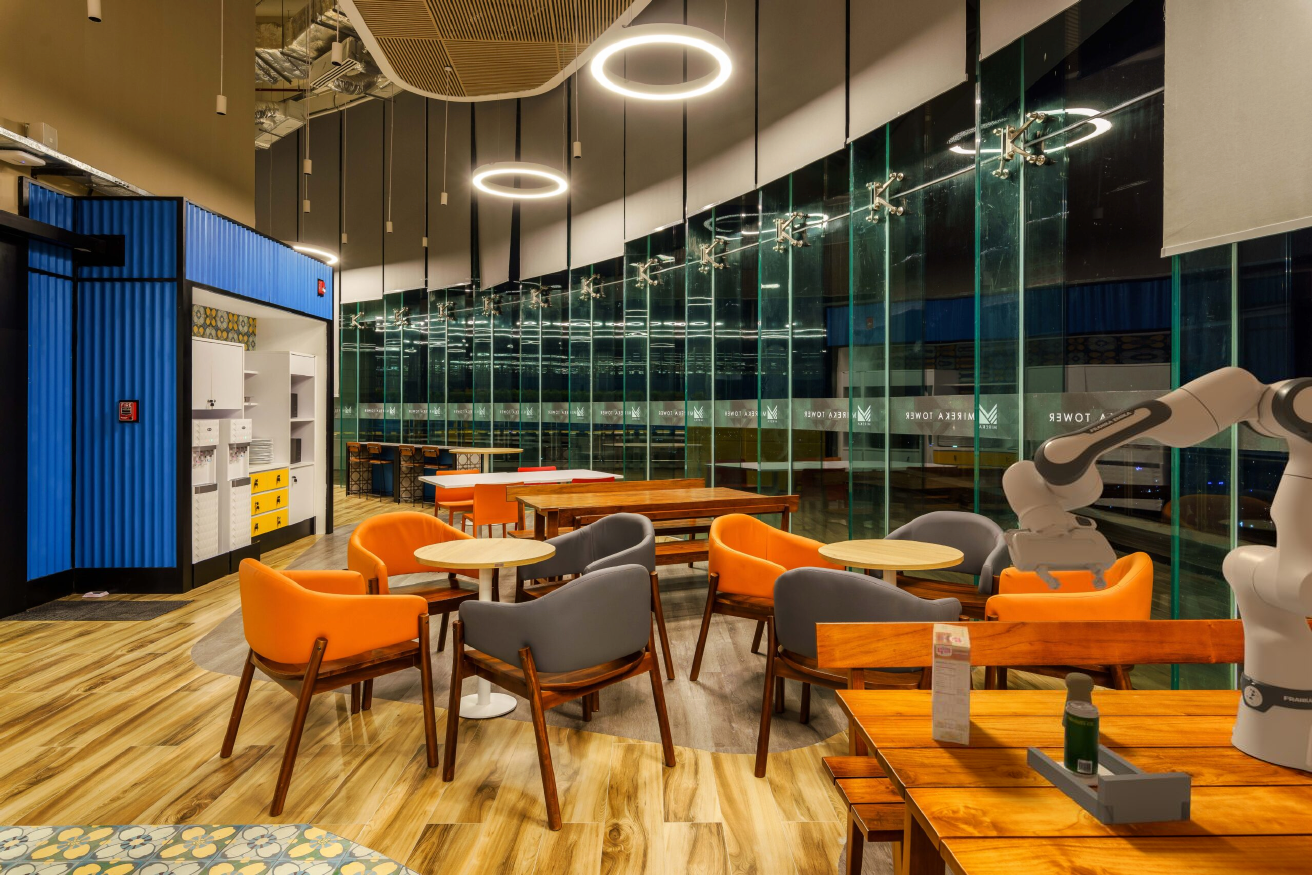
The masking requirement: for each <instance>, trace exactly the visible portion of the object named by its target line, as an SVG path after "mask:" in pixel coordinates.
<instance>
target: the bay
mask: <svg viewBox="0 0 1312 875" xmlns="http://www.w3.org/2000/svg"><path fill="white" fill-rule="evenodd" d="M1026 764H1027V765H1028V766H1030V767H1031V768H1032V769H1033V770H1034V771H1036V772H1037V773H1038V774H1040V775H1041V776H1042V777H1043V778H1044V779H1046V780H1047V781H1048V782H1050V783H1051V784H1052V785H1054V787H1056V788H1057V789H1058V790H1060V791H1061V792H1062V793H1064V794H1065V795H1066V796H1067V795H1068V796H1067V797H1069V796H1070V797H1071V798H1072V799H1073V800H1072V799H1071V798H1070V797H1069V798H1070V799H1071V800H1072V801H1074V802H1075V803H1076V802H1077V803H1076V804H1078V805H1079V806H1080V807H1082V809H1083V810H1085V811H1087V812H1088V813H1089V814H1090V815H1091V816H1092V817H1094V818H1095V819H1097V820H1098V821H1099V822H1100V823H1102V824H1103V825H1116V824H1135V823H1139V824H1140V823H1154V822H1155V823H1157V822H1174V821H1175V822H1176V821H1190V820H1191V805H1192V803H1191V801H1192V799H1191V798H1192V776H1191V775H1190V774H1187V772H1184V771H1173V772H1155V773H1154V772H1151V773H1149V772H1148V773H1147V772H1146V771H1144V770H1143V769H1141V768H1140V767H1138V766H1136V765H1135V764H1133V763H1131V762H1130V761H1129V760H1127V759H1125V758H1123V757H1122V756H1121V755H1119V754H1117V753H1116V752H1114V751H1113V750H1111V749H1110V748H1108V747H1107V746H1105V745H1103V744H1102V743H1101V744H1100V743H1099V753H1098V773H1097V775H1096V776H1095V777H1094V778H1081V777H1077V776H1074V775H1072V774H1071V773H1070V772H1068V771H1067V770H1066V769H1065V767H1064V761H1055V760H1053V759H1052V758H1051V757H1050V756H1048V755H1047V754H1045V753H1044V752H1043V751H1041V750H1040V749H1038V748H1037V747H1036V746H1033V747H1032V746H1030V747H1028V746H1027V747H1026ZM1090 786H1097V791H1095V789H1093V788H1091V787H1090ZM1172 820H1174V821H1172Z"/></svg>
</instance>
